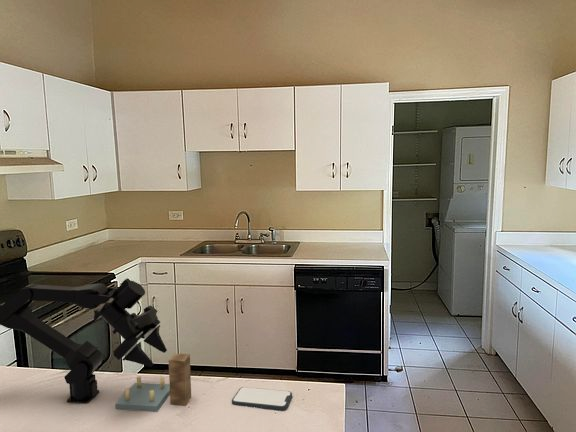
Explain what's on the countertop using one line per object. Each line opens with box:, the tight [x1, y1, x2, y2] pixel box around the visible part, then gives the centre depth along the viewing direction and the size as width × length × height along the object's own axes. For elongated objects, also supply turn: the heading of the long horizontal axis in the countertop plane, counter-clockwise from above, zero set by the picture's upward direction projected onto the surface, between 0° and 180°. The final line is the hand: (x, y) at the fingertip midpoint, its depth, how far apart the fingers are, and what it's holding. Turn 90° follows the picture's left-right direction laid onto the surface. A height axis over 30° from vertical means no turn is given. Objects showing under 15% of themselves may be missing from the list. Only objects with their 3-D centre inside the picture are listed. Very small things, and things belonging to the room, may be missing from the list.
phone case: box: [231, 386, 293, 412], centre depth 125 cm, size 9×2×16 cm
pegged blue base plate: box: [114, 375, 170, 413], centre depth 126 cm, size 12×12×4 cm
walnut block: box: [168, 353, 192, 407], centre depth 124 cm, size 4×4×13 cm
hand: (159, 358), depth 124 cm, fingers open, 9 cm apart
